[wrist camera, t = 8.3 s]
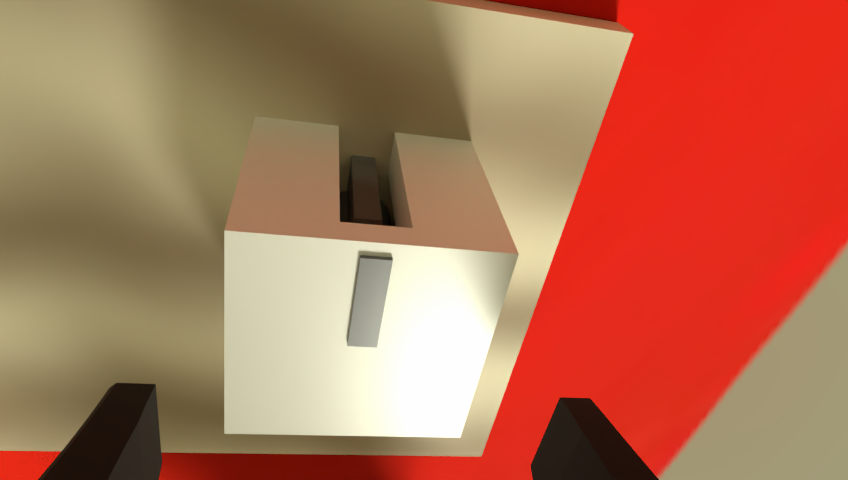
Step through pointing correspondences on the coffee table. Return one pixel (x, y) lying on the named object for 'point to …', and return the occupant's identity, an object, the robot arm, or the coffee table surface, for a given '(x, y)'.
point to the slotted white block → (358, 289)
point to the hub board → (219, 171)
